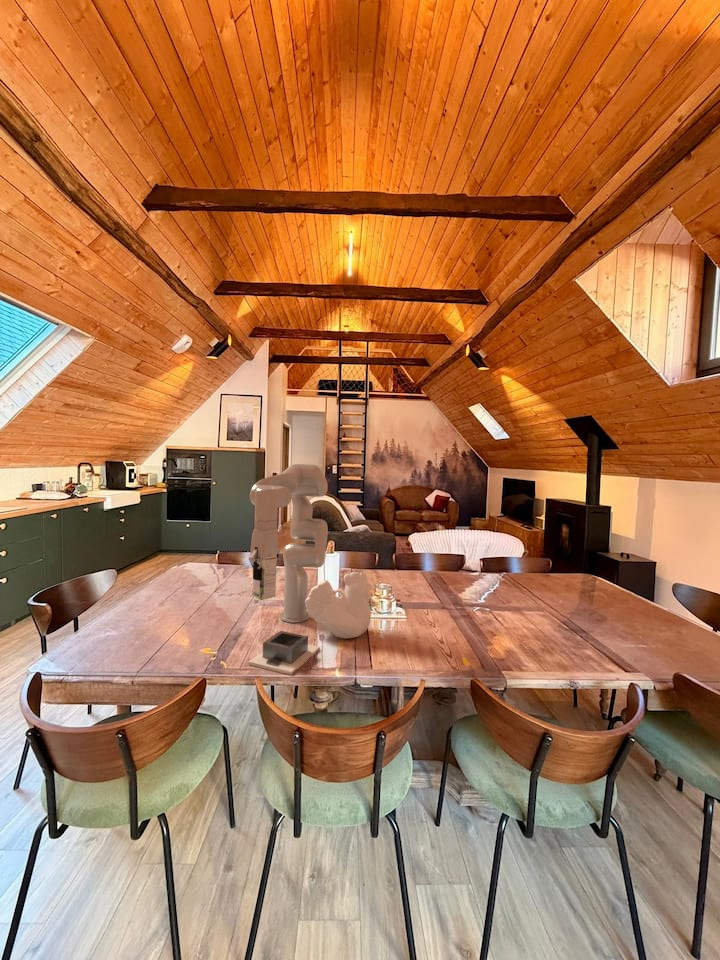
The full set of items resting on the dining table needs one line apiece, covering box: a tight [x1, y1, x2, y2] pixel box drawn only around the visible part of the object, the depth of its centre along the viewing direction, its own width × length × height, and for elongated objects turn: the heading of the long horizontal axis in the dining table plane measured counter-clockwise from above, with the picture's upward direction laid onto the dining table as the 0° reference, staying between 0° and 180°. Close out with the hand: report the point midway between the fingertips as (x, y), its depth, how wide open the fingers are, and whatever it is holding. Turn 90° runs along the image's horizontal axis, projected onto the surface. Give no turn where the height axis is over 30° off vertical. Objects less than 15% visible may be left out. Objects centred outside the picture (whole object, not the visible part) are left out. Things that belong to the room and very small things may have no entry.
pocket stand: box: [247, 630, 321, 676], centre depth 149 cm, size 20×16×6 cm
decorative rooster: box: [305, 571, 373, 639], centre depth 170 cm, size 25×16×25 cm, turn 81°
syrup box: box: [252, 555, 278, 601], centre depth 147 cm, size 6×6×14 cm
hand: (264, 576), depth 147 cm, fingers closed on syrup box, 7 cm apart
